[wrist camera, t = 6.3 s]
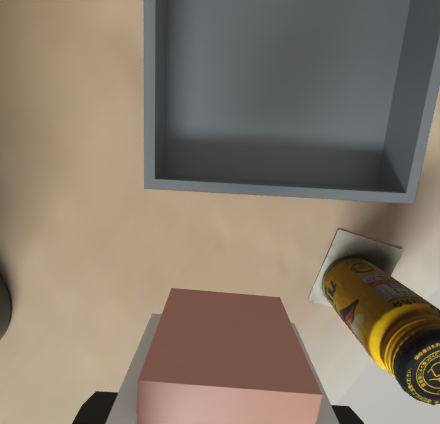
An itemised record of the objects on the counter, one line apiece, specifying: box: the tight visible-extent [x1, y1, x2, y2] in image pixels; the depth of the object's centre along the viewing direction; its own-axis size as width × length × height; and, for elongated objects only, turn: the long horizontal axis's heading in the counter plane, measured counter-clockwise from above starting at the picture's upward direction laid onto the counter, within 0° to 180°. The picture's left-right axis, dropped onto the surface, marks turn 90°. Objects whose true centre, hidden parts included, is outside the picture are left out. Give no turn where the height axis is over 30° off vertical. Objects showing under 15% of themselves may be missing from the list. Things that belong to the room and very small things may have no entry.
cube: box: [136, 288, 322, 424], centre depth 10 cm, size 5×5×5 cm
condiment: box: [308, 229, 440, 405], centre depth 22 cm, size 7×8×12 cm
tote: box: [144, 0, 440, 204], centre depth 21 cm, size 20×22×5 cm
